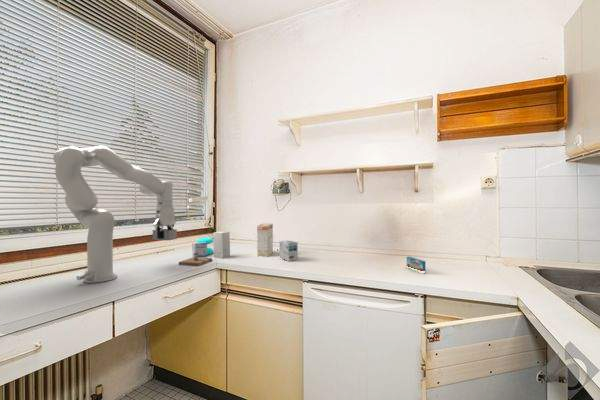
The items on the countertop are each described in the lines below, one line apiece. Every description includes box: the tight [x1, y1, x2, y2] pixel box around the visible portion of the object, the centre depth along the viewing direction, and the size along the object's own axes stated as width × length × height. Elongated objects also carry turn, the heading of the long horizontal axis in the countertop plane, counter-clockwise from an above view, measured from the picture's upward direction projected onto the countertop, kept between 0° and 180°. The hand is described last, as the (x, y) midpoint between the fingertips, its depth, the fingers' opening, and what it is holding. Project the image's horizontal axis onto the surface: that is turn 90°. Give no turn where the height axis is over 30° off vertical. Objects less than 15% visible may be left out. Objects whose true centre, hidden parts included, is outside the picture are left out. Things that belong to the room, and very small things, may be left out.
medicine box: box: [191, 242, 208, 258], centre depth 183 cm, size 8×4×9 cm, turn 131°
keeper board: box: [178, 253, 213, 267], centre depth 165 cm, size 14×12×6 cm
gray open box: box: [152, 228, 178, 241], centre depth 157 cm, size 6×10×5 cm, turn 76°
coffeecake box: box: [256, 222, 274, 257], centre depth 190 cm, size 15×7×20 cm, turn 172°
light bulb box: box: [279, 239, 299, 262], centre depth 175 cm, size 11×7×11 cm, turn 35°
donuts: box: [196, 237, 214, 256], centre depth 192 cm, size 10×10×10 cm
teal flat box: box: [406, 256, 426, 272], centre depth 148 cm, size 12×2×6 cm, turn 18°
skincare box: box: [212, 230, 231, 259], centre depth 181 cm, size 8×7×16 cm
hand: (164, 237), depth 157 cm, fingers closed on gray open box, 6 cm apart
